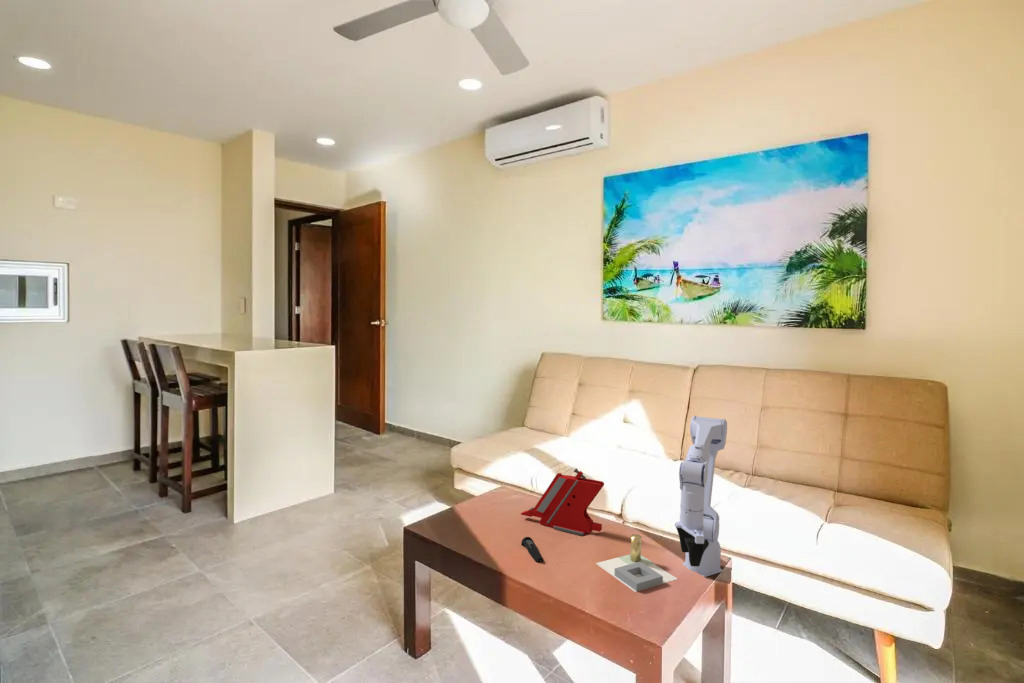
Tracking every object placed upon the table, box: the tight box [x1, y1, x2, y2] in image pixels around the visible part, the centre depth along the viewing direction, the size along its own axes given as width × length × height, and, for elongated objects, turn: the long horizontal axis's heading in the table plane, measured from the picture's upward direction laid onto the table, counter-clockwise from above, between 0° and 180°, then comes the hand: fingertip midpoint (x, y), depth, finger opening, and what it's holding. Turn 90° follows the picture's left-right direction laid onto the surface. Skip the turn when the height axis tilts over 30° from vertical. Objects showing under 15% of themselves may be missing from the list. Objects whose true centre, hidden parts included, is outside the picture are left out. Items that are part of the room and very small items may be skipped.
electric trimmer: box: [521, 536, 544, 563], centre depth 158 cm, size 4×15×3 cm, turn 14°
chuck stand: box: [595, 553, 678, 593], centre depth 146 cm, size 15×17×3 cm
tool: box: [520, 467, 605, 537], centre depth 175 cm, size 27×6×27 cm, turn 64°
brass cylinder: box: [629, 533, 642, 562], centre depth 152 cm, size 3×3×7 cm
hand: (690, 558), depth 136 cm, fingers open, 7 cm apart
